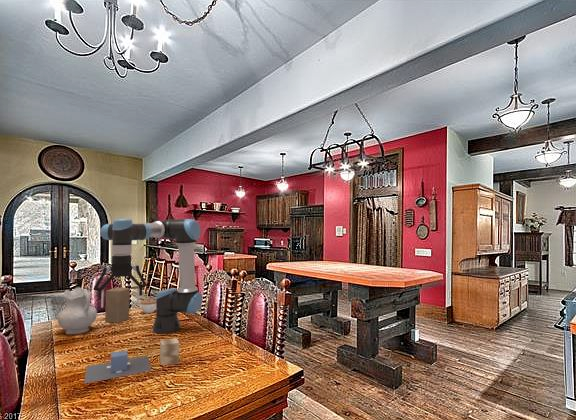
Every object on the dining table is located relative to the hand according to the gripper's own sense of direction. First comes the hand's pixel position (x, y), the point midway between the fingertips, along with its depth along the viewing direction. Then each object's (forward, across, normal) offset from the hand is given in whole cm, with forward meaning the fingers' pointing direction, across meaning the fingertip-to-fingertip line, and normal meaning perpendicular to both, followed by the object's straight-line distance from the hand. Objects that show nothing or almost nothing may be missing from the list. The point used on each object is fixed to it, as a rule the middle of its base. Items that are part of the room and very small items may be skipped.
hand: (120, 305), depth 141 cm
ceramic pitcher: (+27, +19, -68) cm, 76 cm away
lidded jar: (+27, -21, -96) cm, 102 cm away
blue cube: (+26, 0, 0) cm, 26 cm away
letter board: (+27, 0, 0) cm, 27 cm away
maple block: (+27, -20, +2) cm, 33 cm away
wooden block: (+27, -1, -83) cm, 87 cm away
